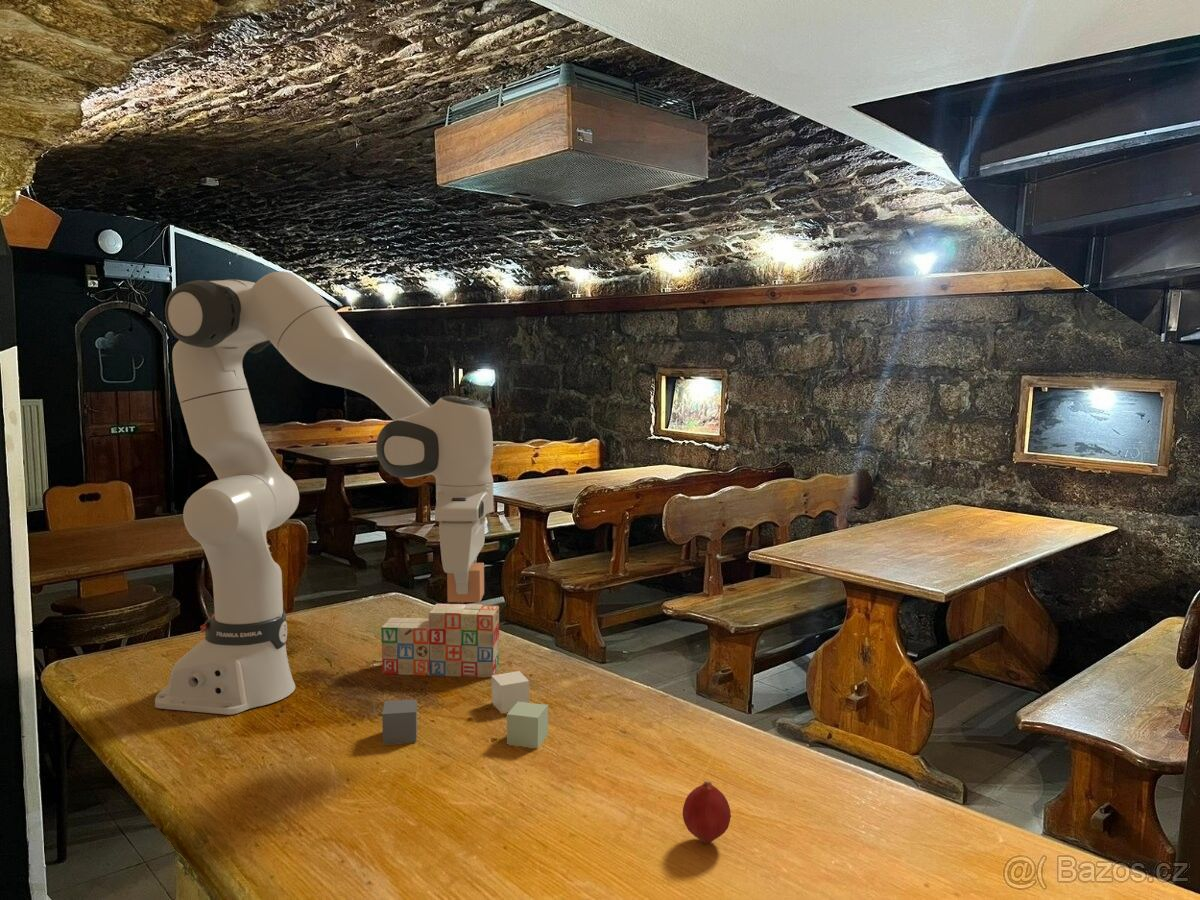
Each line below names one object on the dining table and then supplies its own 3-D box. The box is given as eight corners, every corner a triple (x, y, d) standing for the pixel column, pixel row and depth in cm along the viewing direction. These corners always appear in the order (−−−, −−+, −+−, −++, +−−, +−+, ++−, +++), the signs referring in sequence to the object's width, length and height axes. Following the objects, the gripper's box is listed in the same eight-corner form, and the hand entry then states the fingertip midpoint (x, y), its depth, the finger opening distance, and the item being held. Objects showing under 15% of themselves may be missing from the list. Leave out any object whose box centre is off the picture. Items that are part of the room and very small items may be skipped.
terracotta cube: (447, 602, 129) (447, 570, 129) (453, 593, 134) (452, 562, 134) (479, 602, 129) (479, 570, 129) (484, 593, 134) (483, 562, 134)
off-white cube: (501, 714, 140) (500, 685, 139) (491, 703, 144) (491, 675, 144) (529, 709, 142) (529, 680, 141) (519, 698, 146) (519, 671, 146)
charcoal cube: (382, 745, 128) (382, 714, 127) (385, 731, 133) (384, 701, 132) (416, 743, 129) (415, 711, 128) (417, 729, 134) (417, 699, 133)
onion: (678, 830, 105) (679, 769, 104) (723, 828, 106) (724, 767, 105) (687, 857, 99) (688, 792, 98) (734, 854, 100) (736, 791, 99)
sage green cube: (506, 745, 128) (506, 714, 128) (518, 731, 133) (518, 701, 133) (537, 749, 127) (537, 717, 127) (548, 735, 132) (548, 704, 131)
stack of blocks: (381, 675, 157) (379, 611, 156) (391, 663, 163) (390, 601, 162) (493, 678, 156) (493, 613, 155) (499, 666, 162) (499, 604, 161)
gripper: (455, 490, 141) (456, 571, 142) (432, 512, 120) (433, 605, 122) (493, 490, 141) (493, 571, 142) (476, 512, 120) (477, 606, 122)
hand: (465, 587), depth 132 cm, fingers closed on terracotta cube, 5 cm apart
